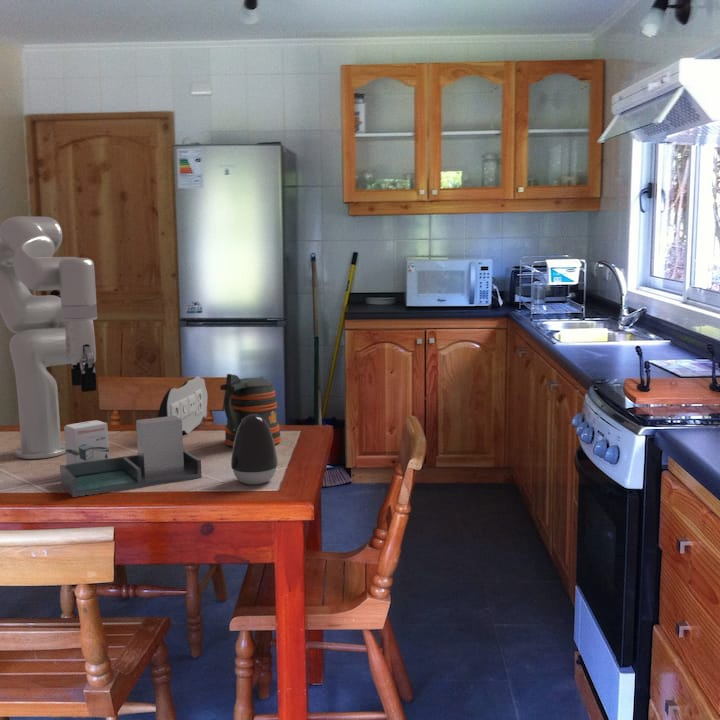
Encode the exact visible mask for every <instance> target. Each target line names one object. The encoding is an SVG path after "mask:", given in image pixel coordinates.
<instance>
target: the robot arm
mask: <svg viewBox="0 0 720 720" xmlns="http://www.w3.org/2000/svg"><path fill="white" fill-rule="evenodd" d="M62 241H63V231H62V228H61V226H60V223H59V222H58V221H57V220H56V219H54V218H52V217H50V216H32V215H31V216H23V215H21V216H20V215H17V216H12V217H9V218H7V219H5V220H3V222H2V223H1V224H0V315H1V317H2V319H3V322H4V324H5V326H6V328H7V329H8V331H10V332H11V333H14V335H13V336H12V337H11V339H10V340H9V354H10V356H11V357H10V358H11V360H12V364H13V369H14V374H15V375H14V376H15V383H16V384H15V385H16V392H17V405H18V406H17V407H18V409H17V410H18V419H19V433H20V434H19V436H20V446H21V447H19V448H17V449H16V450H14V456H15V457H16V458H18V459H26V460H37V459H38V460H39V459H48V458H54V457H57V456H62V455H64V454H66V449H65V443H62V437H61V436H62V435H61V420H60V418H61V417H60V410H59V409H60V407H59V393H58V392H59V391H58V384H57V381H56V379H55V377H53V375H52V374H51V373H50V372H49V371H48V370H47V368H48V367H52V366H63V365H70V367H71V369H70V373H71V374H70V375H71V385H72V386H73V387H75V386H80V390H81V392H83V393H87V392H88V393H89V392H94V391H97V377H96V375H97V373H96V367H95V363H96V361H97V349H96V336H95V327H94V321H95V320H97V319H98V310H97V309H98V308H97V307H98V306H97V288H96V274H95V263H94V261H93V260H92V259H91V258H88V257H78V256H54V255H55V253H56V252H57V250H58V249H59V248H60V246H61V245H62ZM8 267H9V268H10V267H13V271H12V270H11V269H9V268H8ZM30 290H32V291H35V292H41V291H43V292H44V291H58V290H59V291H60V296H58V295H52V294H50V295H33V294H32V293H31V291H30Z"/></svg>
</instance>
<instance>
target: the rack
mask: <svg viewBox="0 0 720 720" xmlns="http://www.w3.org/2000/svg"><path fill="white" fill-rule="evenodd" d="M135 422H136V423H135V426H136V427H135V428H136V441H137V454H134V455H133V454H132V455H125V456H119V457H111V458H110V457H109V458H110V459H103V460H96V461H89V462H81V463H74V464H63V465H62V464H61V465H59V469H60V470H59V472H60V474H59V475H60V484H62V486H63V487H64V489H66V491H67V492H68V494H69V495H70V494H71V495H72V496H71V495H70V496H71V497H72V498H73V497H77V496H83V497H86V496H85V495H89V496H93V495H92V494H95V495H100V494H99V493H102V494H106V493H105V492H108V493H112V492H111V491H114V492H119V491H118V490H120V491H124V490H123V489H127V490H131V489H130V488H133V489H138V488H137V487H139V488H144V486H145V487H151V486H150V485H152V486H157V485H156V484H158V485H163V483H164V484H169V482H170V483H175V481H176V482H181V481H182V480H183V481H187V480H189V481H190V480H193V479H201V478H202V460H201V459H200V458H198V457H197V456H195V455H194V454H192V453H190V452H189V451H188V450H186V449H184V439H183V434H184V433H182V419H180V418H178V417H177V416H167V417H159V418H158V417H152V418H151V417H150V418H145V419H144V418H143V419H142V418H141V419H136V420H135ZM77 498H78V497H77Z"/></svg>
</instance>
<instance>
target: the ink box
mask: <svg viewBox="0 0 720 720" xmlns="http://www.w3.org/2000/svg"><path fill="white" fill-rule="evenodd" d="M63 432H64V444H65V449H66V453H65V459H66V464H65V465H67V464H74V463H81V462H89V461H96V460H103V459H110V445H109V444H110V443H109V430H108V422H103V421H101V420H97V419H96V420H88V421H82V422H78V423H70V424H66V425H65V426H63Z"/></svg>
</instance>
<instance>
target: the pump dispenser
mask: <svg viewBox="0 0 720 720" xmlns="http://www.w3.org/2000/svg"><path fill="white" fill-rule="evenodd" d="M230 459H231V461H230V467H231V469H232V472H233V475H234V476H235V478H236V479H237V480H238V481H239V482H240V483H243V484H245V485H250V486H257V485H264V484H265V483H267V482H269V481H270V480H271V479H272V478H273V477H274V475H275V473H276V471H277V467H278V464H279V462H278V461H279V460H278V454H277V449H276V445H275V444H274V441H273V437H272V434H271V432H270V429H269V427H268V425H267V423H266V422H265V420H264V419H263V418H262V417H261V416H259V415H258V414H257V413H255V414H250V415H248V416H246V417H245V418H244V419H243V420H242V421H241V423H240V425H239V427H238V430H237V433H236V436H235V440H234V445H233V447H232V452H231V458H230Z"/></svg>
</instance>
